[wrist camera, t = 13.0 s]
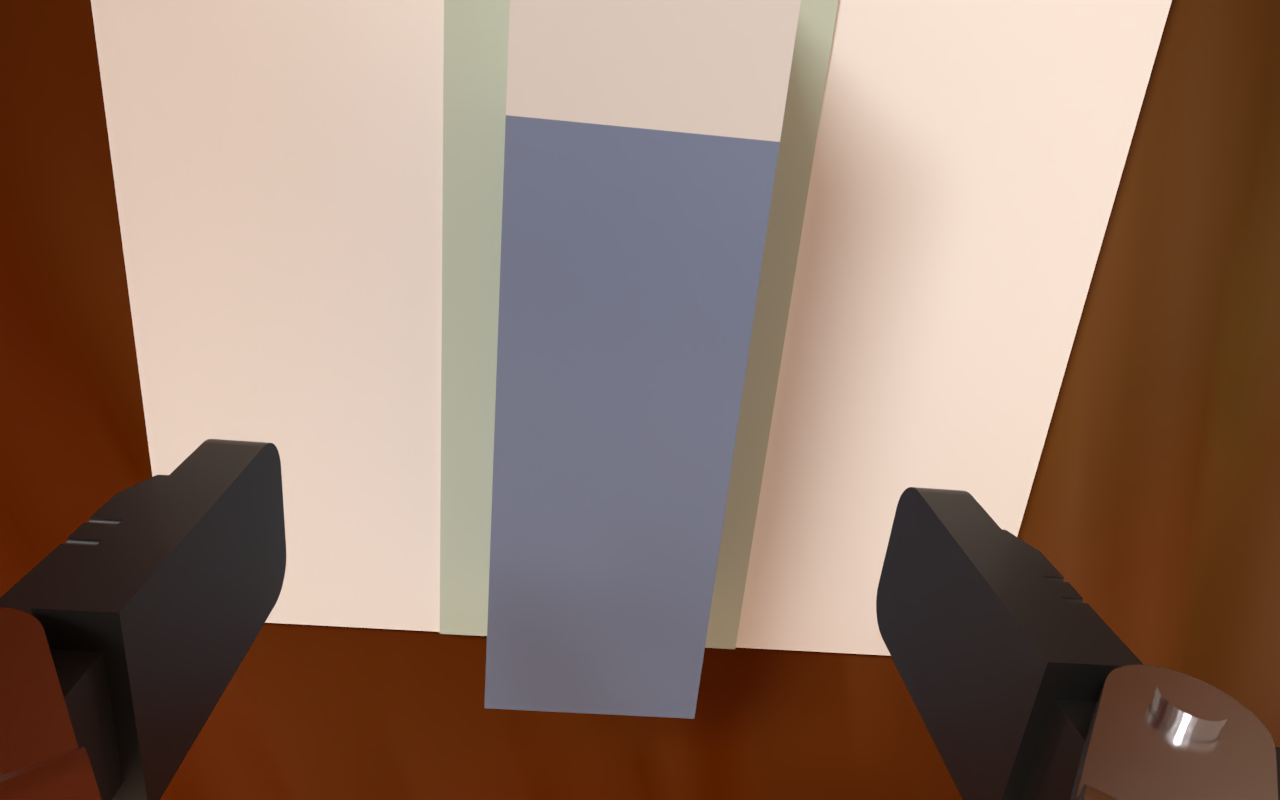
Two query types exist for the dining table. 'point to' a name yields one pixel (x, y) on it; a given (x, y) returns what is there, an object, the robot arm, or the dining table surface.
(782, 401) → the paper sheet
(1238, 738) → the robot arm
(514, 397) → the eraser
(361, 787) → the dining table surface
